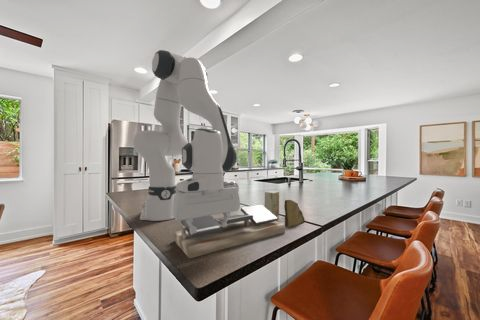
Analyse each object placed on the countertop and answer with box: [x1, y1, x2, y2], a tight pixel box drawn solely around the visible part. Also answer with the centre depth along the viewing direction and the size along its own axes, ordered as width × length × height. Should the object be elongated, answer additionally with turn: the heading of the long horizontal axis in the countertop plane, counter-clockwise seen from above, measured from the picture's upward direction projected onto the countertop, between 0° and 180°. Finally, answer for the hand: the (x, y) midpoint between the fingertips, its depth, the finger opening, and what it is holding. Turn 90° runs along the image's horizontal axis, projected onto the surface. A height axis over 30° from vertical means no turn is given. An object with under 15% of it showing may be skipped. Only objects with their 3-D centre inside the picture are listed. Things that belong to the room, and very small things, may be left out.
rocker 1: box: [180, 215, 223, 238], centre depth 64 cm, size 10×10×1 cm
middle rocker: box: [214, 214, 253, 224], centre depth 71 cm, size 10×10×1 cm
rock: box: [283, 199, 306, 228], centre depth 85 cm, size 11×9×10 cm
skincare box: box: [264, 190, 280, 219], centre depth 91 cm, size 6×4×12 cm
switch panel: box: [173, 210, 286, 259], centre depth 71 cm, size 14×36×6 cm, turn 124°
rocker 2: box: [240, 204, 279, 226], centre depth 77 cm, size 10×10×1 cm
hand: (209, 230), depth 60 cm, fingers open, 8 cm apart
